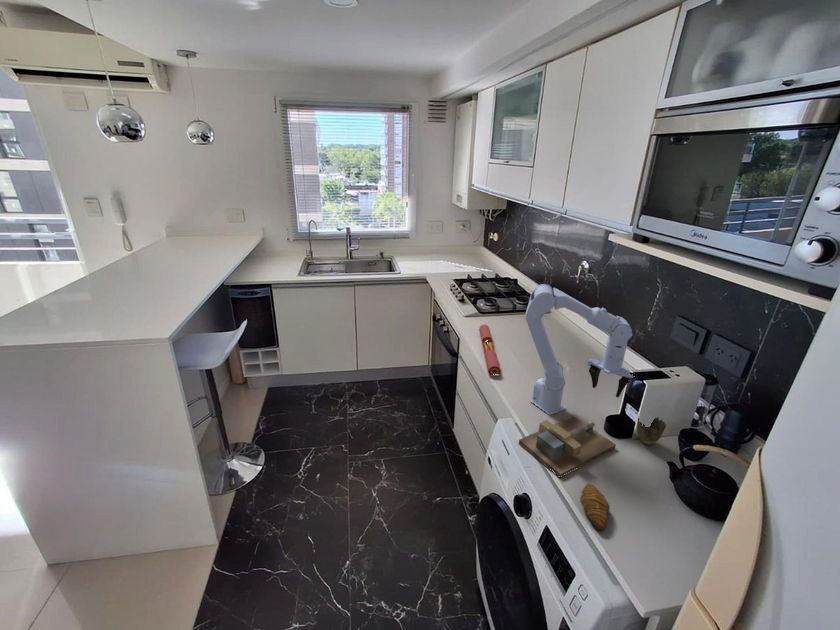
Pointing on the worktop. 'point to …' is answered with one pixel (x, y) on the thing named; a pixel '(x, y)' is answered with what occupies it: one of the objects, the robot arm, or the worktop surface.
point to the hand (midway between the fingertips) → (606, 391)
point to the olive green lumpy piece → (651, 431)
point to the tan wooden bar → (561, 437)
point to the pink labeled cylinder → (489, 351)
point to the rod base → (567, 460)
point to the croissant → (595, 506)
